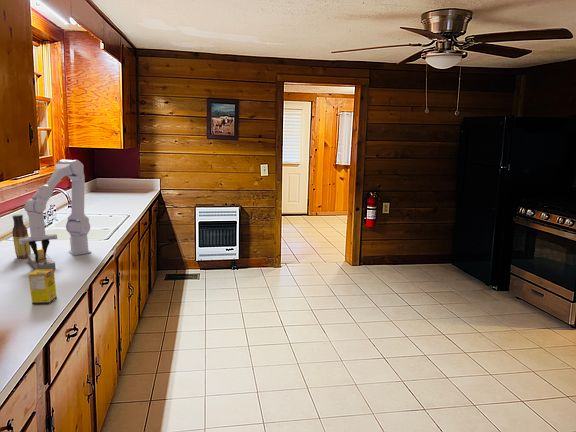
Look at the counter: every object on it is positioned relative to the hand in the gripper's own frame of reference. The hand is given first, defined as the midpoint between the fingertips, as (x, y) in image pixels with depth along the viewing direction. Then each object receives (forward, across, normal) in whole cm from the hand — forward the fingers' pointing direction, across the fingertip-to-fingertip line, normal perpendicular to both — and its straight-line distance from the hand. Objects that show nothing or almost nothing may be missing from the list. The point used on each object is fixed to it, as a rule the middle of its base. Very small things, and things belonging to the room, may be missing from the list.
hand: (40, 257), depth 211 cm
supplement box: (+4, -8, -49) cm, 50 cm away
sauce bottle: (+4, -4, +19) cm, 20 cm away
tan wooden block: (+2, 0, 0) cm, 2 cm away
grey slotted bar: (+3, 0, 0) cm, 3 cm away
